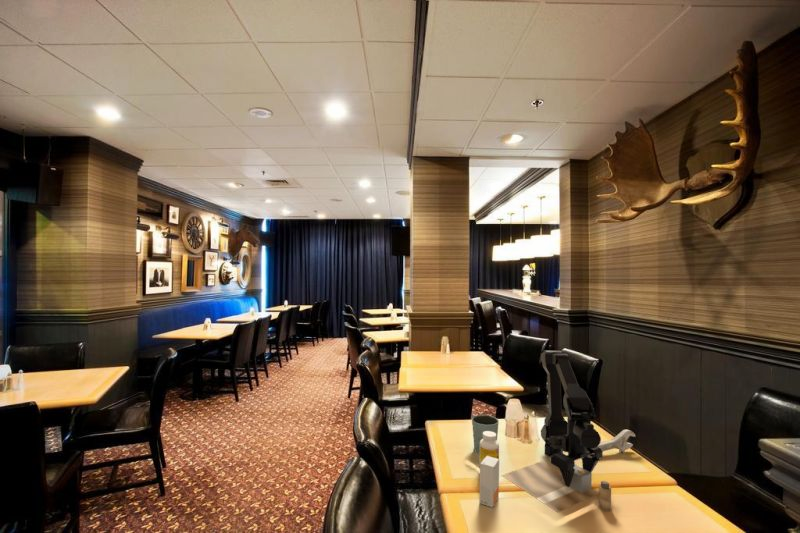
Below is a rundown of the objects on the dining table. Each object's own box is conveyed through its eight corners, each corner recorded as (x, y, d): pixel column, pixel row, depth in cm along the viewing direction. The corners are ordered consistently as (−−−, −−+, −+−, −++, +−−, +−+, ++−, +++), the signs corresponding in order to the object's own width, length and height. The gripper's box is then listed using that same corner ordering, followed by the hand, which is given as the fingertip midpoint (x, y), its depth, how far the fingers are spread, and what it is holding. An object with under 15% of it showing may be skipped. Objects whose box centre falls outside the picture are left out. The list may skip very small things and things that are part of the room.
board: (542, 464, 136) (542, 461, 136) (600, 496, 117) (600, 492, 117) (501, 478, 126) (501, 475, 126) (557, 516, 107) (557, 512, 107)
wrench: (568, 465, 141) (633, 447, 149) (572, 468, 140) (637, 449, 147) (566, 444, 141) (631, 427, 149) (570, 446, 139) (635, 429, 147)
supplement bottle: (499, 476, 127) (499, 438, 128) (479, 474, 129) (479, 436, 129) (498, 466, 134) (498, 430, 134) (479, 464, 135) (479, 428, 136)
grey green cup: (501, 448, 148) (502, 418, 148) (493, 459, 139) (493, 426, 139) (477, 442, 153) (477, 412, 153) (467, 452, 145) (467, 420, 145)
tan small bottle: (603, 502, 114) (603, 479, 114) (613, 508, 111) (613, 484, 111) (596, 506, 112) (596, 481, 112) (606, 512, 109) (607, 487, 109)
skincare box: (492, 508, 110) (493, 467, 111) (479, 503, 113) (479, 463, 113) (499, 497, 116) (499, 458, 116) (485, 493, 118) (486, 455, 118)
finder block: (571, 478, 125) (571, 461, 125) (591, 488, 119) (591, 471, 119) (562, 482, 123) (562, 465, 123) (581, 493, 116) (581, 475, 117)
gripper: (573, 419, 133) (572, 464, 132) (536, 430, 123) (536, 478, 123) (603, 431, 123) (603, 479, 123) (566, 444, 114) (566, 495, 113)
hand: (576, 482), depth 121 cm, fingers open, 9 cm apart
